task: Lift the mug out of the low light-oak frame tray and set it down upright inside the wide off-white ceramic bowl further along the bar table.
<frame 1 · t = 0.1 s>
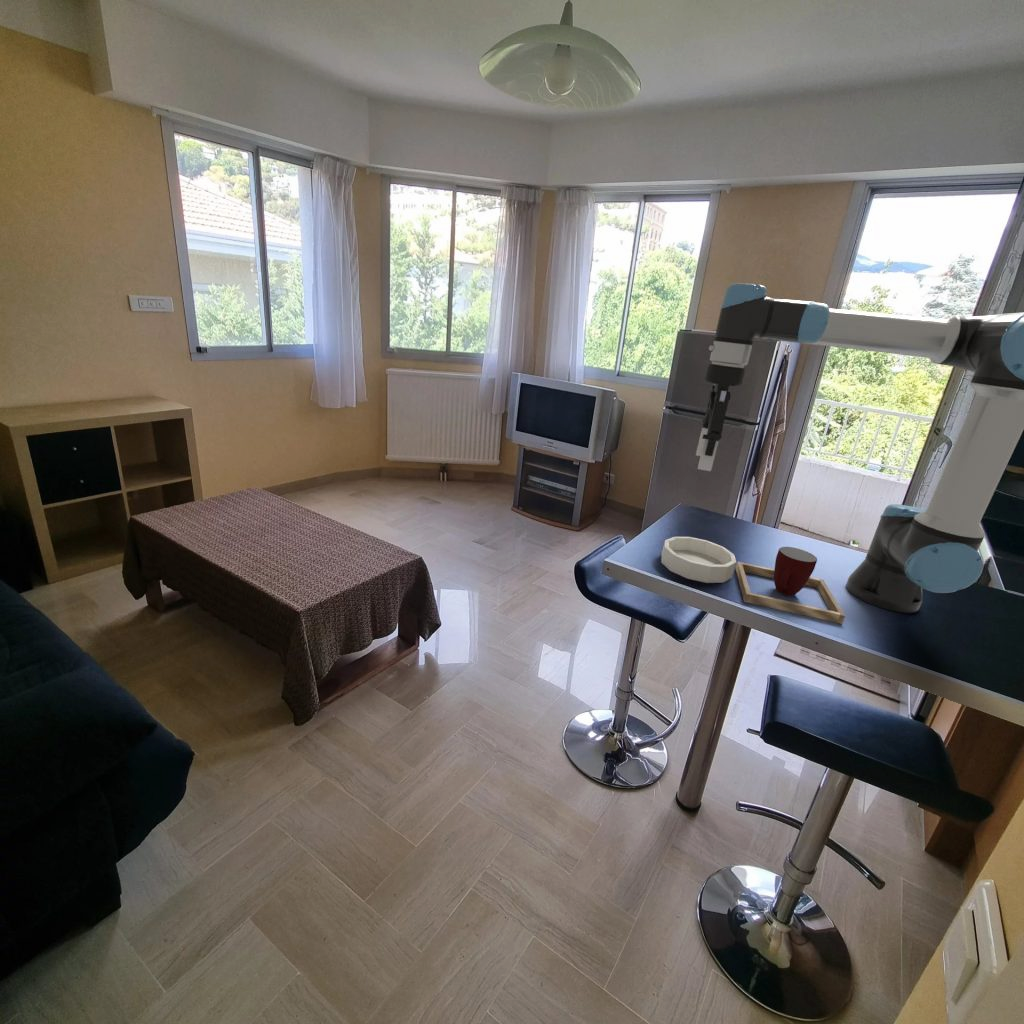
hand: (702, 462, 115), 28 cm above the table, fingers open, 13 cm apart
mug: (783, 594, 122), resting in frame tray
bowl: (695, 566, 131), on the table
frame tray: (784, 593, 122), on the table
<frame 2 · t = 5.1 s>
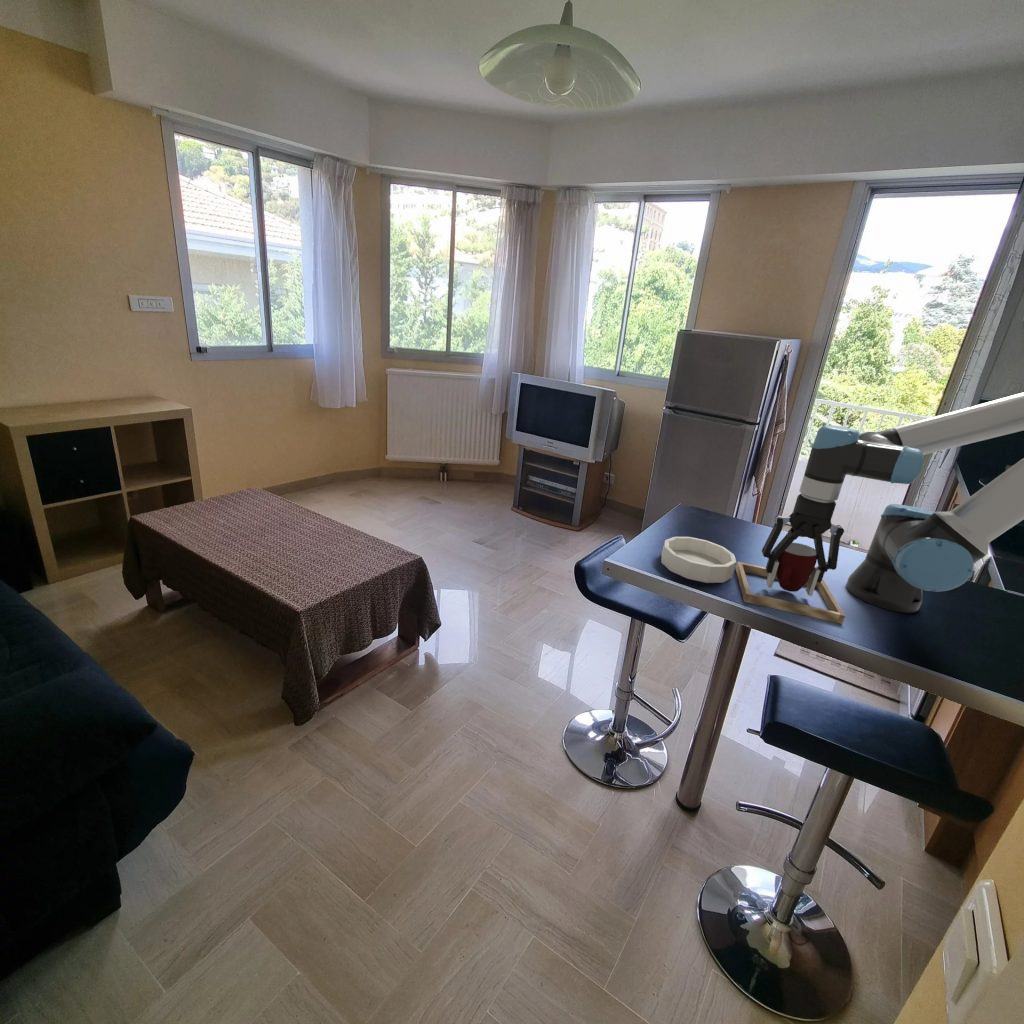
hand: (788, 589, 121), 1 cm above the table, fingers closed on mug, 8 cm apart
mug: (788, 590, 121), point 1 cm above the table, touching gripper
when the fingers open (2 cm above the table, at t = 10.7 s): mug moves 2 cm, resting on bowl.
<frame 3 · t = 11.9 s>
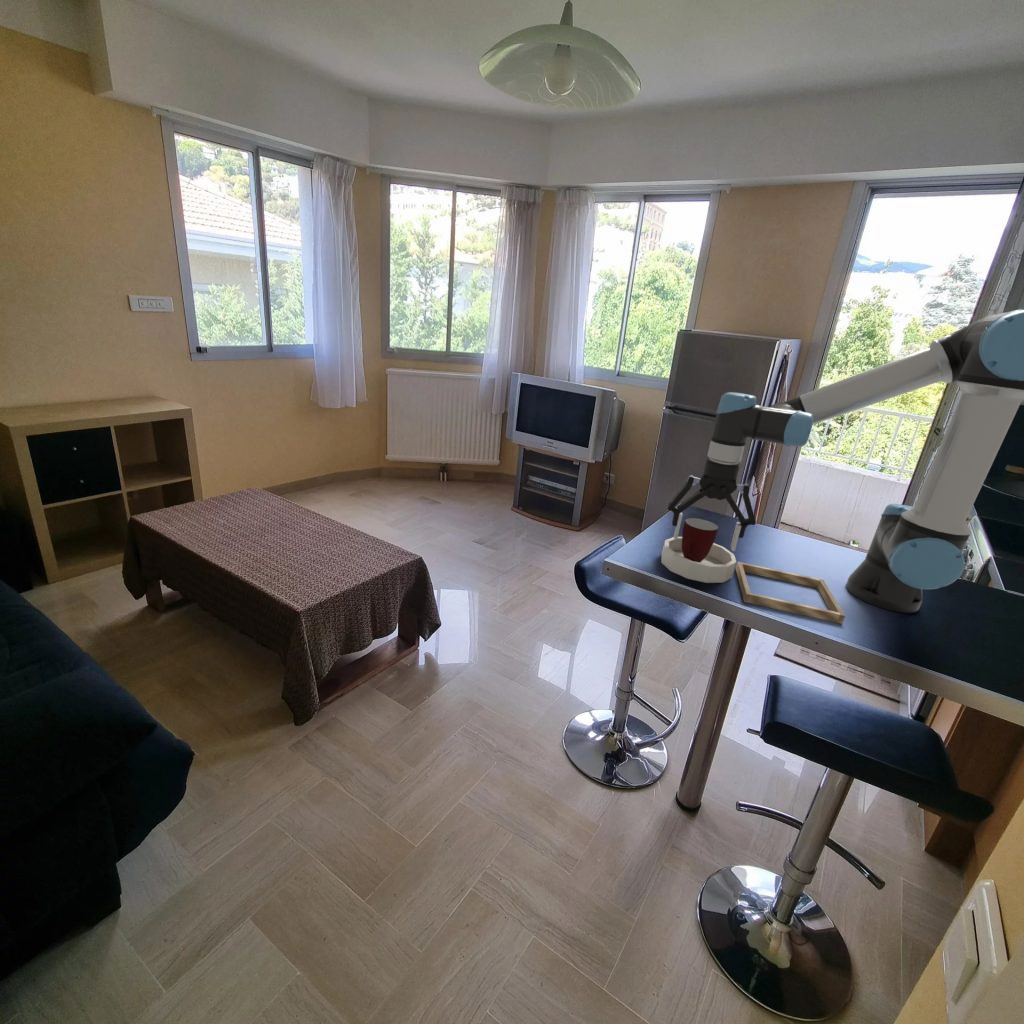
hand: (703, 543, 128), 6 cm above the table, fingers open, 13 cm apart
mug: (690, 562, 131), point 1 cm above the table, touching bowl
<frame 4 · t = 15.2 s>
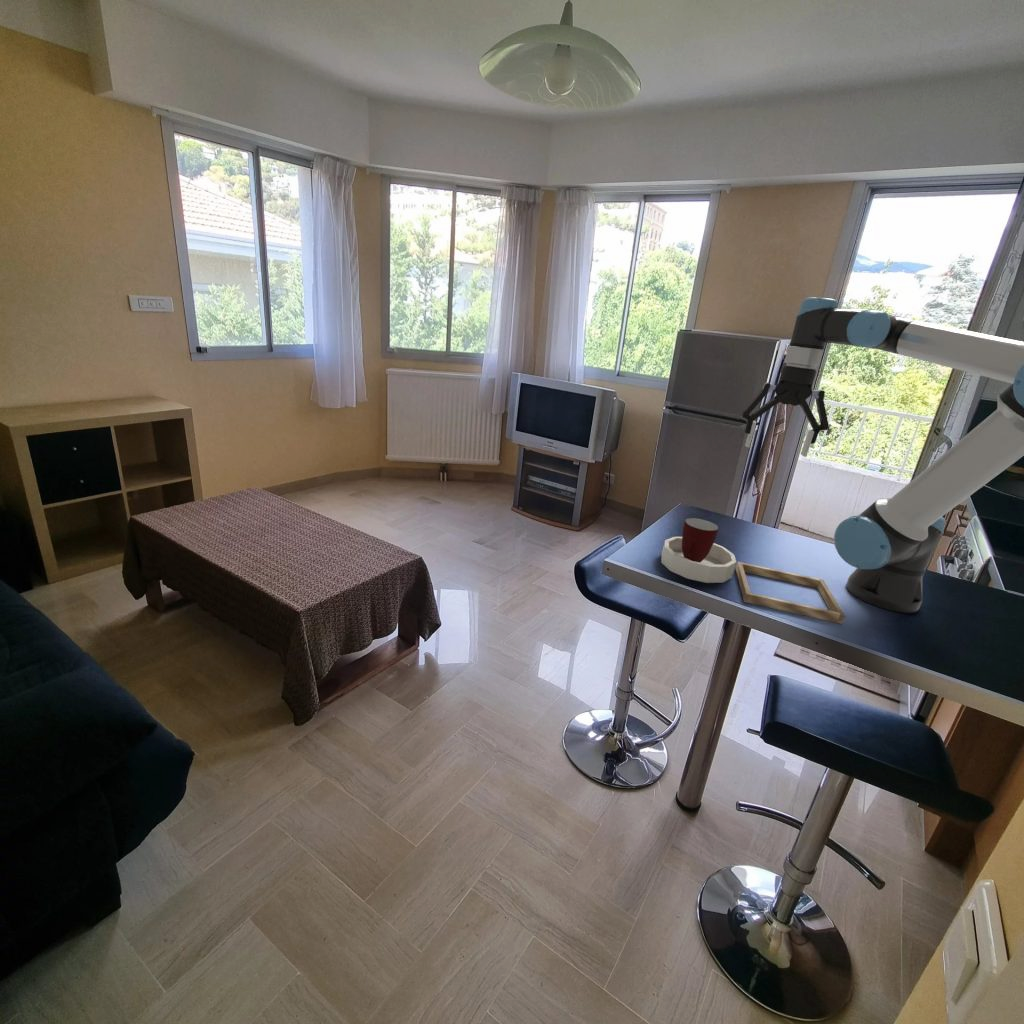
hand: (774, 451, 134), 29 cm above the table, fingers open, 13 cm apart
nothing on the table moved.
at the end: mug 1.3 cm from the bowl (horizontally); mug tilted 0°; the gripper is holding nothing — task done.
